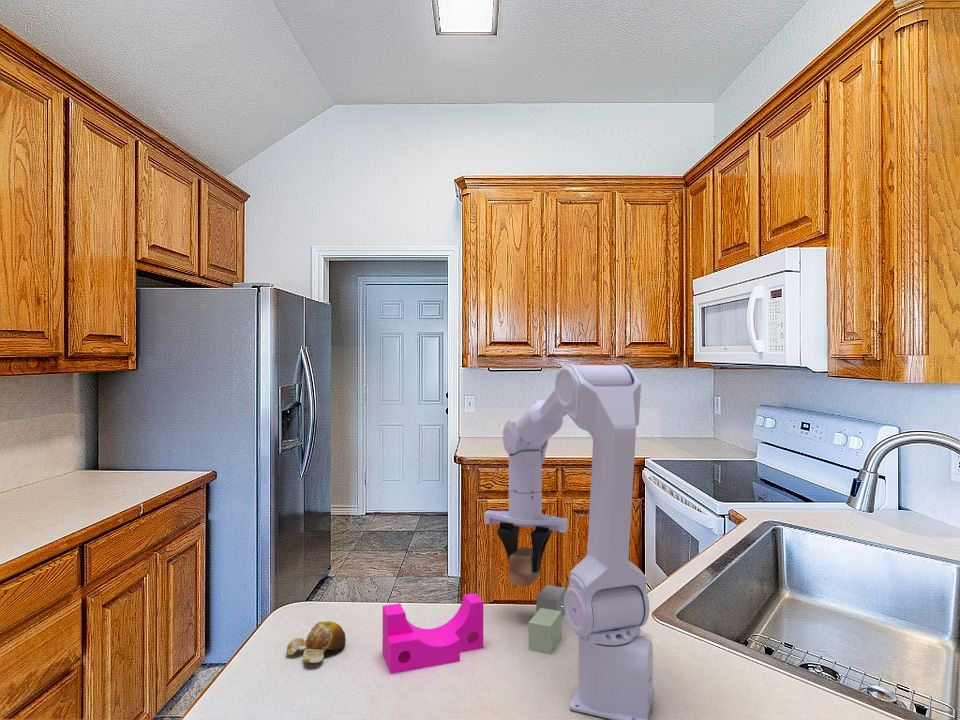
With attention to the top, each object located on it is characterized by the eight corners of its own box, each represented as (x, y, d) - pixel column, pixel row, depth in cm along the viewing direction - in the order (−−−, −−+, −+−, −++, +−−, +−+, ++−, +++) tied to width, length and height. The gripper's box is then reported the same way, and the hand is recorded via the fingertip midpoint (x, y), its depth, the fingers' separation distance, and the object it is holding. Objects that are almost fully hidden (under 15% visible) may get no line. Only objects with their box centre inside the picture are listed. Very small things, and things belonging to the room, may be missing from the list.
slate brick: (565, 613, 104) (565, 587, 104) (556, 627, 99) (556, 600, 99) (546, 610, 106) (546, 584, 106) (536, 623, 100) (536, 596, 100)
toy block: (390, 675, 83) (390, 622, 83) (382, 655, 89) (382, 605, 89) (489, 658, 88) (489, 608, 89) (475, 640, 94) (475, 593, 94)
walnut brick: (539, 574, 103) (539, 548, 103) (529, 586, 97) (529, 559, 97) (521, 571, 104) (521, 546, 104) (509, 583, 99) (509, 556, 99)
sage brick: (561, 639, 94) (561, 611, 94) (550, 656, 89) (550, 626, 89) (540, 635, 96) (540, 607, 96) (528, 651, 90) (528, 622, 90)
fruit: (280, 649, 89) (281, 625, 90) (326, 634, 96) (328, 611, 96) (310, 667, 84) (311, 641, 84) (357, 650, 90) (359, 625, 90)
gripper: (572, 489, 102) (572, 567, 102) (494, 482, 108) (494, 556, 107) (561, 497, 95) (561, 581, 95) (479, 489, 101) (479, 568, 101)
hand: (525, 569), depth 101 cm, fingers closed on walnut brick, 3 cm apart
